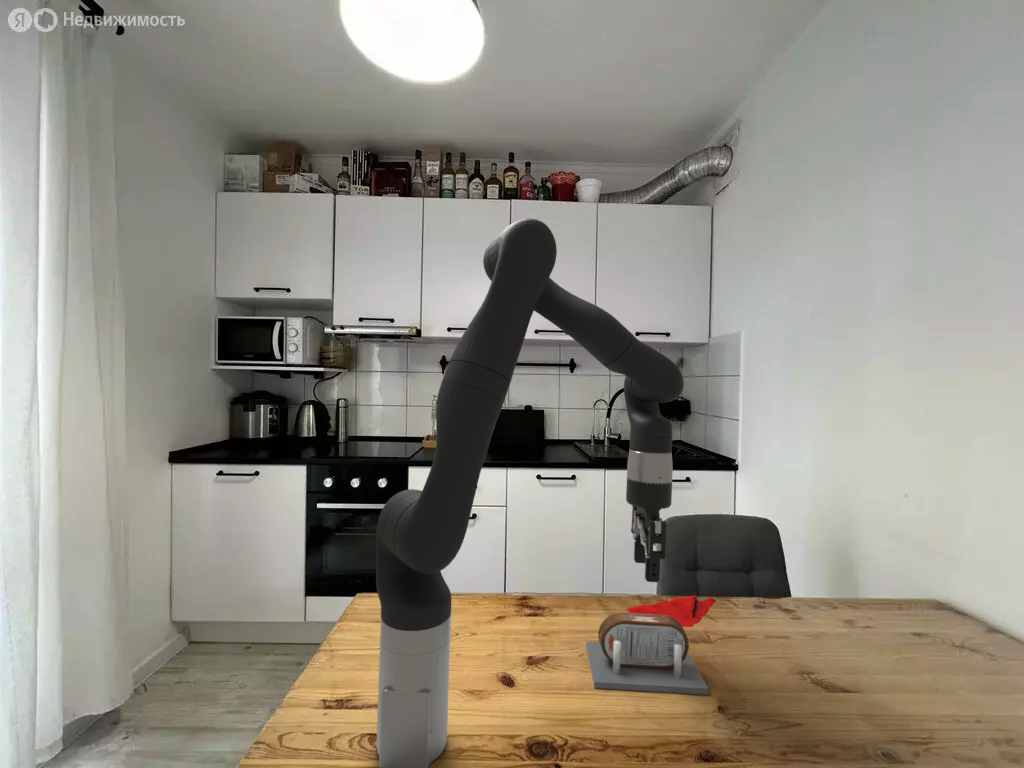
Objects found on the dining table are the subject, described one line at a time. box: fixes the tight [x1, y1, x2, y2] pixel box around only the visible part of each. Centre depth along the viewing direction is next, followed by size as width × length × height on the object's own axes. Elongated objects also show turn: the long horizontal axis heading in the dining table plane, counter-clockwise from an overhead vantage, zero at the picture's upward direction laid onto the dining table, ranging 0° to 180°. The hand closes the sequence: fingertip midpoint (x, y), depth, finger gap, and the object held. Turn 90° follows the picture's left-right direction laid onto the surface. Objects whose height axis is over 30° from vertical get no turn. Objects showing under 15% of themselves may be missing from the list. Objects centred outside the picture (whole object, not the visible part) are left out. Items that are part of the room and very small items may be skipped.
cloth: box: [627, 594, 716, 628], centre depth 104 cm, size 26×14×2 cm, turn 100°
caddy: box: [585, 640, 709, 696], centre depth 82 cm, size 12×18×6 cm, turn 87°
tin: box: [597, 611, 690, 669], centre depth 81 cm, size 15×3×8 cm, turn 87°
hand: (645, 571), depth 82 cm, fingers open, 8 cm apart
